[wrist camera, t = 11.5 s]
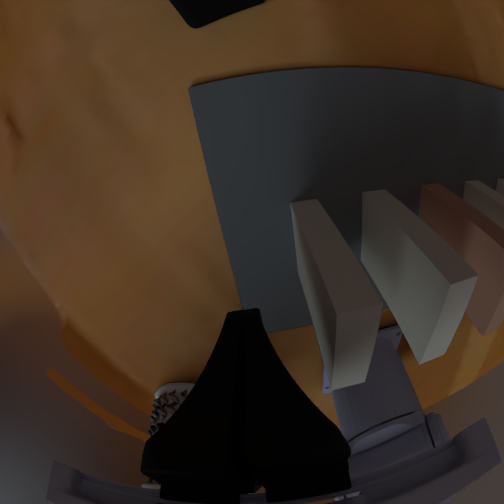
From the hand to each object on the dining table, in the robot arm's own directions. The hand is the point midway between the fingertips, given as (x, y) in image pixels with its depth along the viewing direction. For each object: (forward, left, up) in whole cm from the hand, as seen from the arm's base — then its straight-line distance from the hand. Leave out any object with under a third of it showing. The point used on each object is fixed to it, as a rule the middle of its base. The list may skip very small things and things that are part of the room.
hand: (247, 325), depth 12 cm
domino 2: (0, -8, -6) cm, 11 cm away
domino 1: (0, -4, -6) cm, 8 cm away
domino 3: (0, -13, -6) cm, 14 cm away
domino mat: (+1, -12, -7) cm, 14 cm away
